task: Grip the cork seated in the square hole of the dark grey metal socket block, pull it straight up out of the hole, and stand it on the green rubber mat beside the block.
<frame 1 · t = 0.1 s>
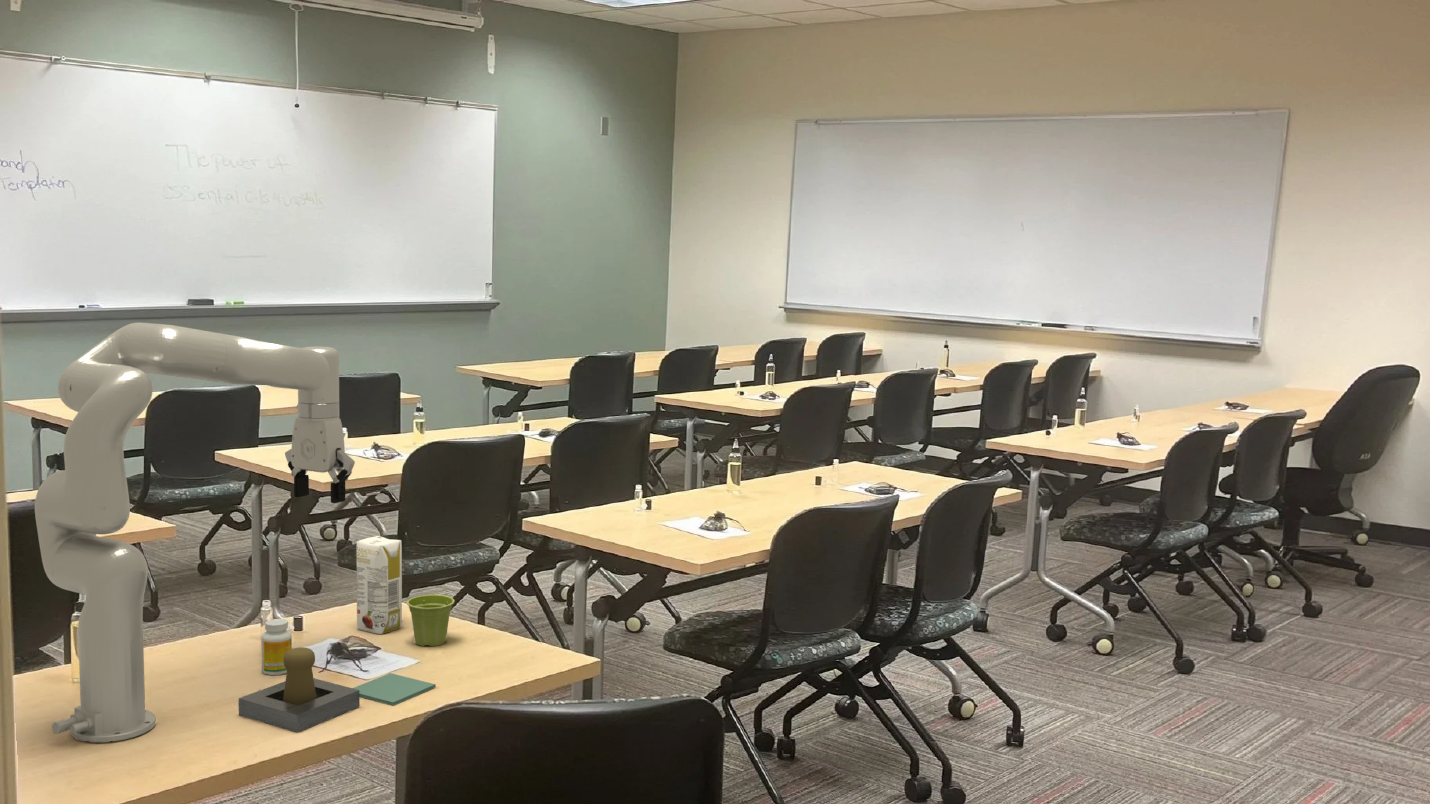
hand: (319, 499, 240), 31 cm above the table, tool pointing down, fingers open, 9 cm apart
rubber mat: (391, 690, 226), on the table
plant pot: (430, 643, 254), on the table
juice carton: (379, 629, 262), on the table
cork: (299, 712, 215), resting in socket block
supplement bottle: (276, 672, 234), on the table
socket block: (299, 710, 215), on the table
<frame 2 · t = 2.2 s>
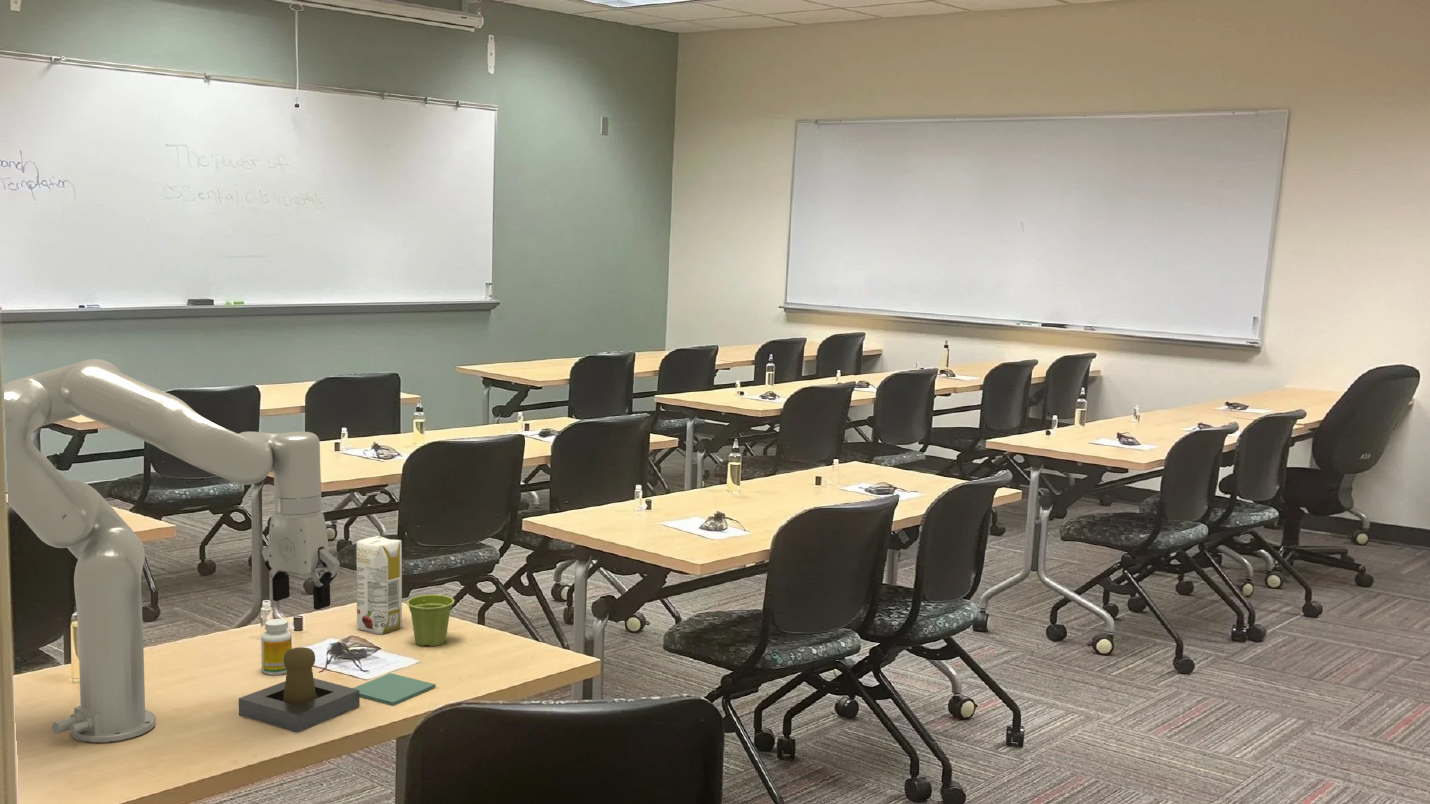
hand: (301, 603, 213), 19 cm above the table, tool pointing down, fingers open, 9 cm apart
nothing on the table moved.
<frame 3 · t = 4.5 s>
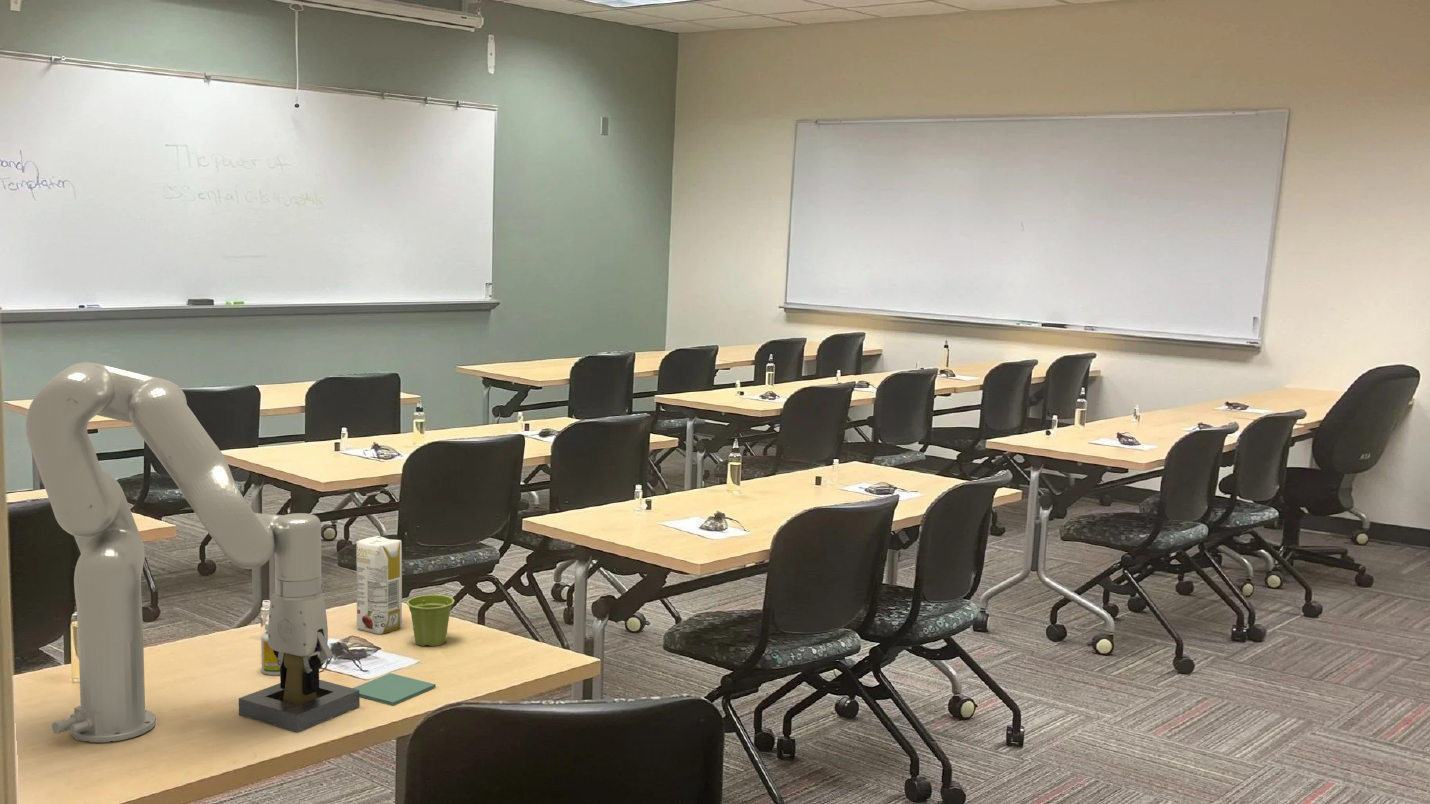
hand: (299, 688, 214), 4 cm above the table, tool pointing down, fingers closed on cork, 4 cm apart
cork: (300, 711, 215), resting in socket block, touching gripper
everything else where it was.
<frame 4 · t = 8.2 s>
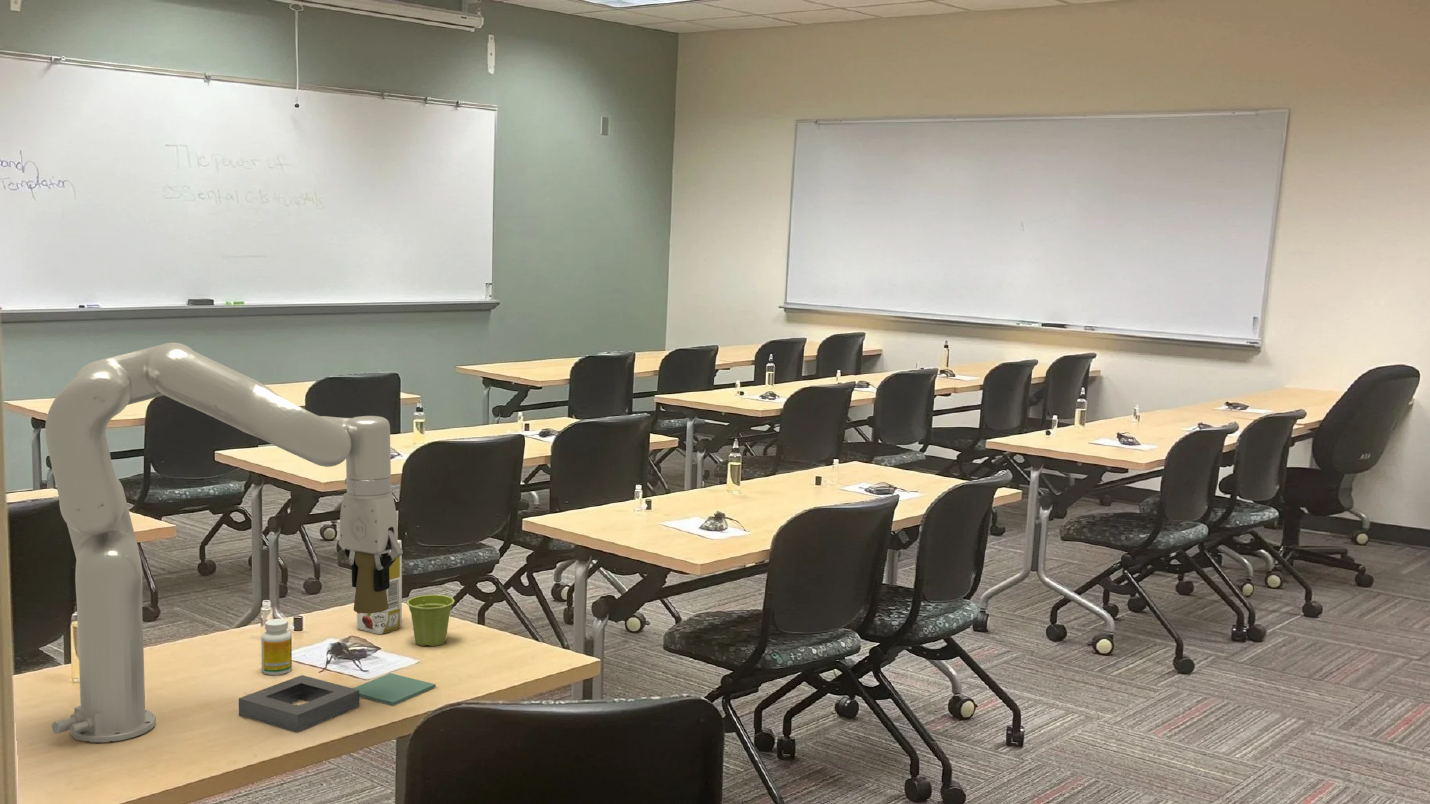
hand: (370, 586, 221), 20 cm above the table, tool pointing down, fingers closed on cork, 4 cm apart
cork: (371, 609, 221), point 16 cm above the table, touching gripper
everything else where it was.
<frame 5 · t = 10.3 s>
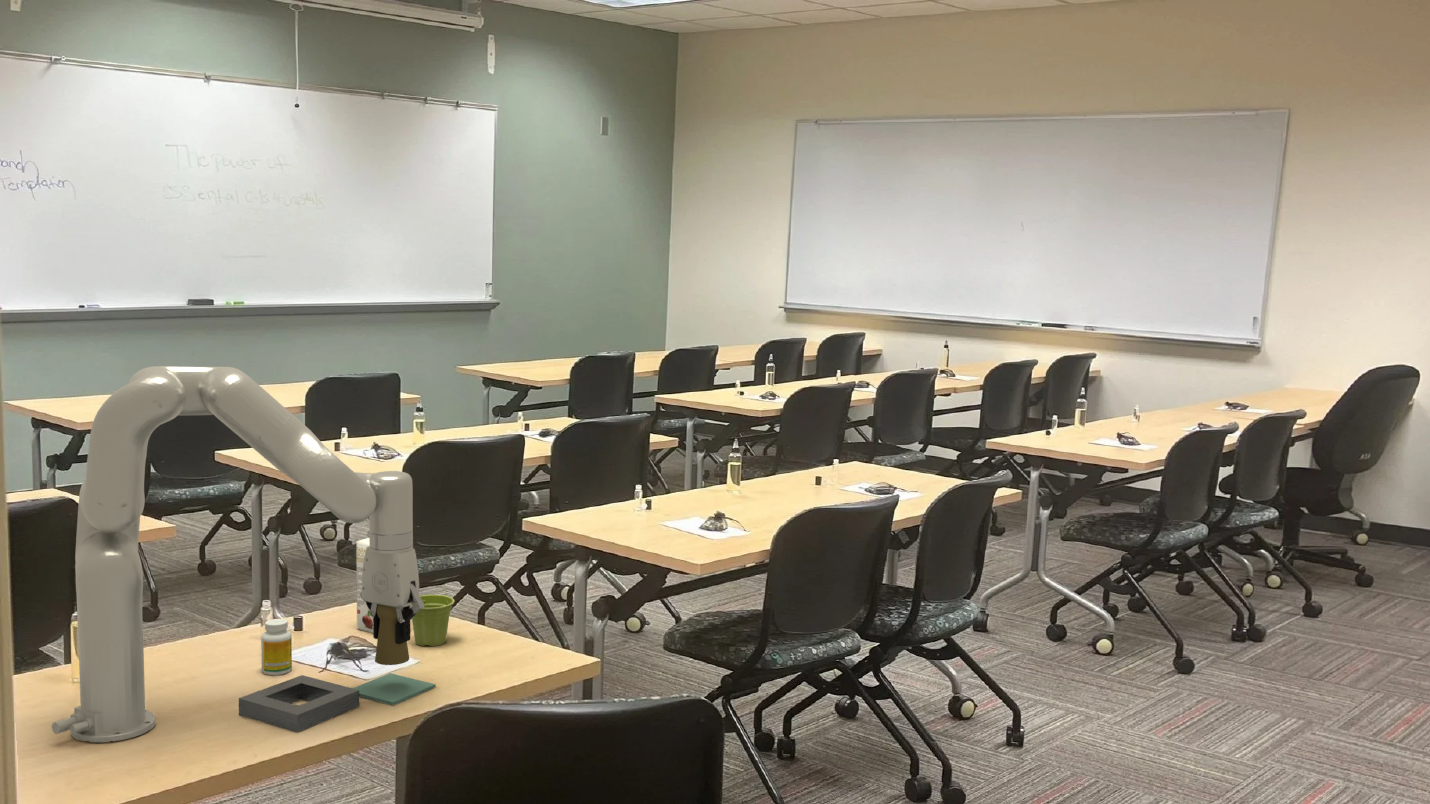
hand: (391, 638, 225), 10 cm above the table, tool pointing down, fingers closed on cork, 4 cm apart
cork: (392, 660, 225), point 6 cm above the table, touching gripper
everything else where it was.
when the fingers open (6 cm above the table, at t = 11.9 s): cork drops 1 cm, resting on rubber mat.
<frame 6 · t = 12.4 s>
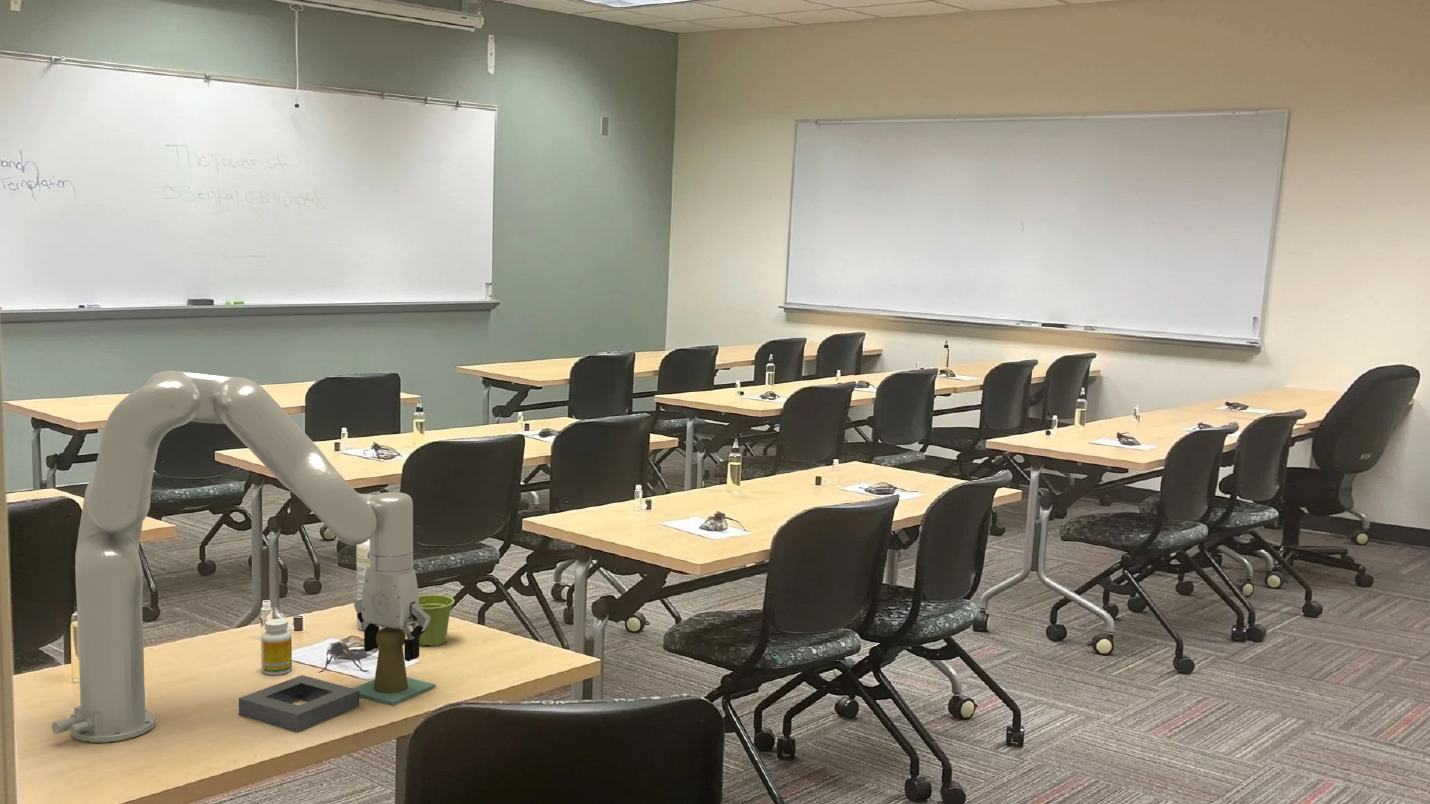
hand: (391, 654, 225), 7 cm above the table, tool pointing down, fingers open, 9 cm apart
cork: (390, 688, 226), resting on rubber mat
everything else where it was.
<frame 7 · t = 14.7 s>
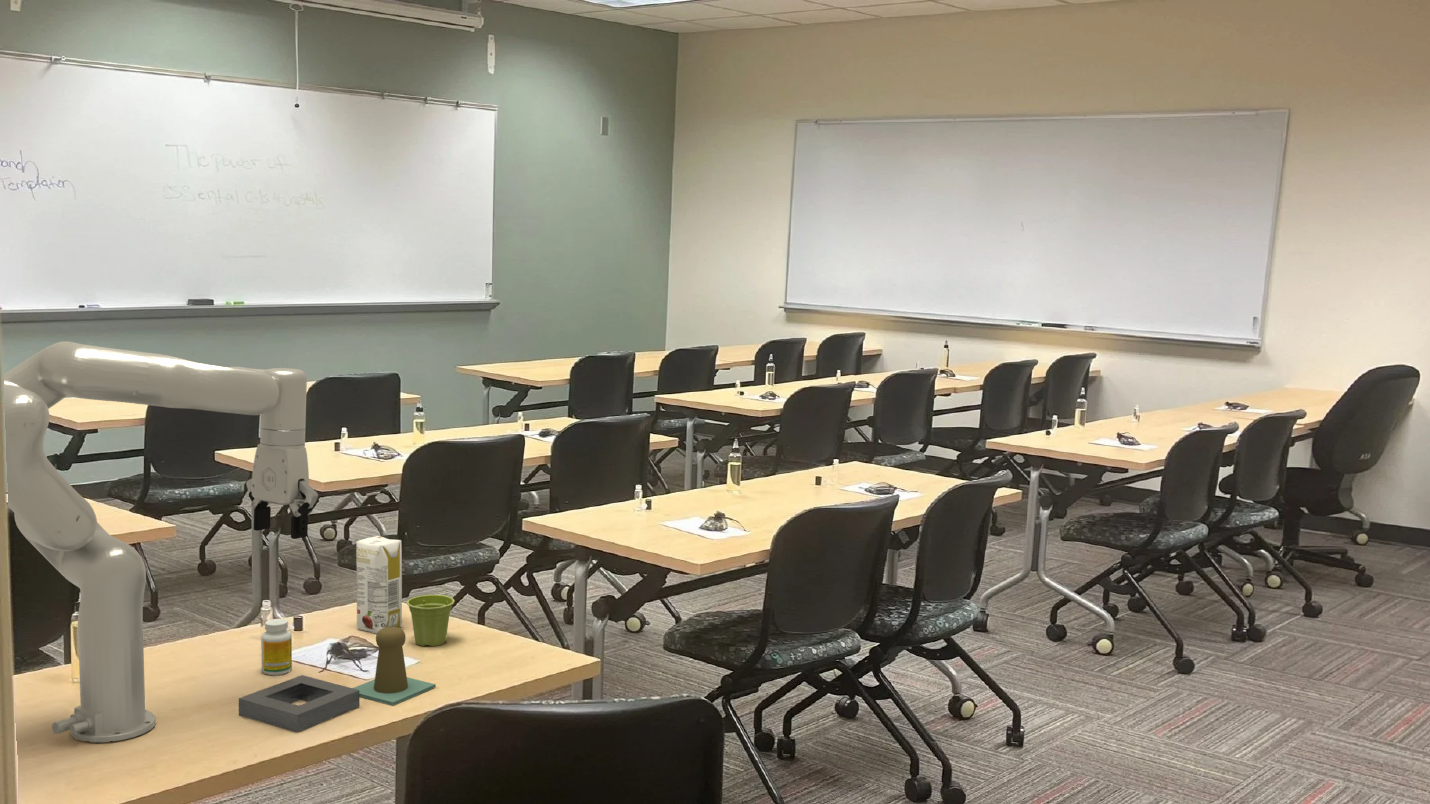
hand: (280, 533, 221), 29 cm above the table, tool pointing down, fingers open, 9 cm apart
nothing on the table moved.
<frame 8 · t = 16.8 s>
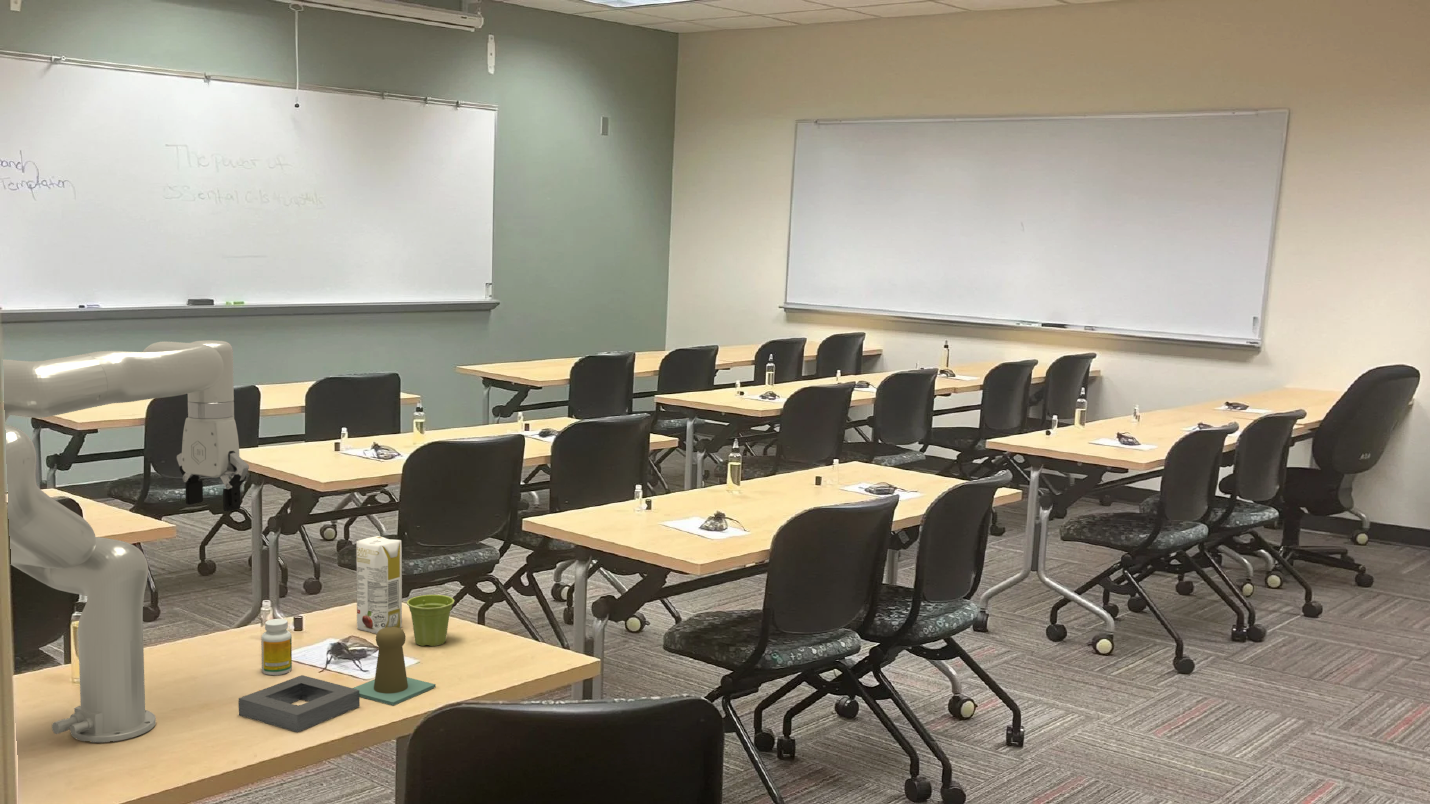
hand: (213, 506, 221), 33 cm above the table, tool pointing down, fingers open, 9 cm apart
nothing on the table moved.
at the end: cork inside the target area on the rubber mat (0.2 cm from its centre), point 0.4 cm above the rubber mat's base; cork tilted 0°; the gripper is holding nothing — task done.
